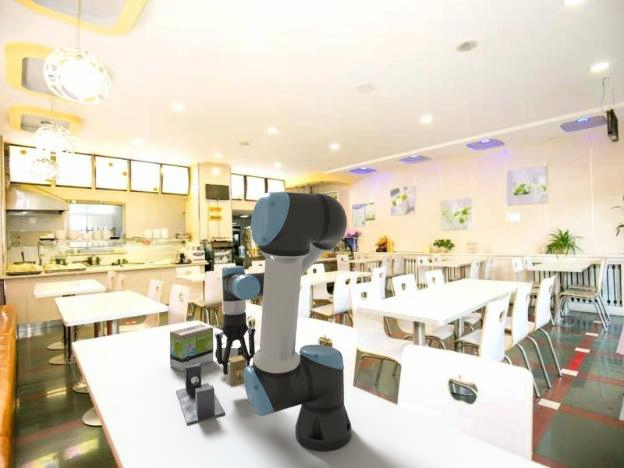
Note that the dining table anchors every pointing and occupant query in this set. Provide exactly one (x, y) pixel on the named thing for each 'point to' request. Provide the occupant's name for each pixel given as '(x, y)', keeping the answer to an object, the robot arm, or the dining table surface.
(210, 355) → the tea box
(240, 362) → the gold metallic block
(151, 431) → the dining table surface
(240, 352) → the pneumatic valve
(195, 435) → the dining table surface
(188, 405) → the base
